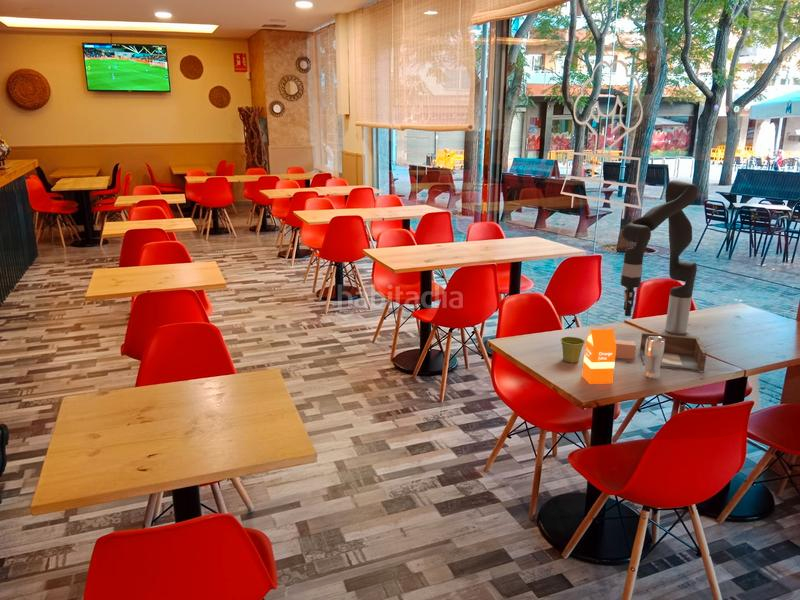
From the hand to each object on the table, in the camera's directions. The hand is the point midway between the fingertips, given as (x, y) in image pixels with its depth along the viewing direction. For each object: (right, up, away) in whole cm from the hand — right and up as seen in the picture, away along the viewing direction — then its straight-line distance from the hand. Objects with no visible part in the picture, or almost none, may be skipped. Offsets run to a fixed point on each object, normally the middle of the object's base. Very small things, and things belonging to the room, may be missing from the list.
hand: (626, 313), depth 250 cm
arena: (+18, -19, 0) cm, 26 cm away
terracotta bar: (0, -18, +5) cm, 19 cm away
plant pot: (-23, -19, 0) cm, 30 cm away
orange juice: (-18, -25, -19) cm, 36 cm away
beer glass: (+4, -24, -15) cm, 28 cm away
